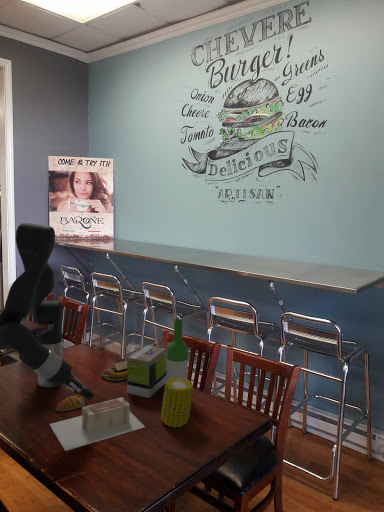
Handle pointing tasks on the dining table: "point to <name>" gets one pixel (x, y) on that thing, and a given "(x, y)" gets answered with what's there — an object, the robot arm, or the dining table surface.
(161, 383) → the tea box
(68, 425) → the grey mat
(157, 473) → the dining table surface
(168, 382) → the food
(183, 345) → the wine bottle
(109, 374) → the toy sandwich meal
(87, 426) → the maple block
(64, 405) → the pastry
